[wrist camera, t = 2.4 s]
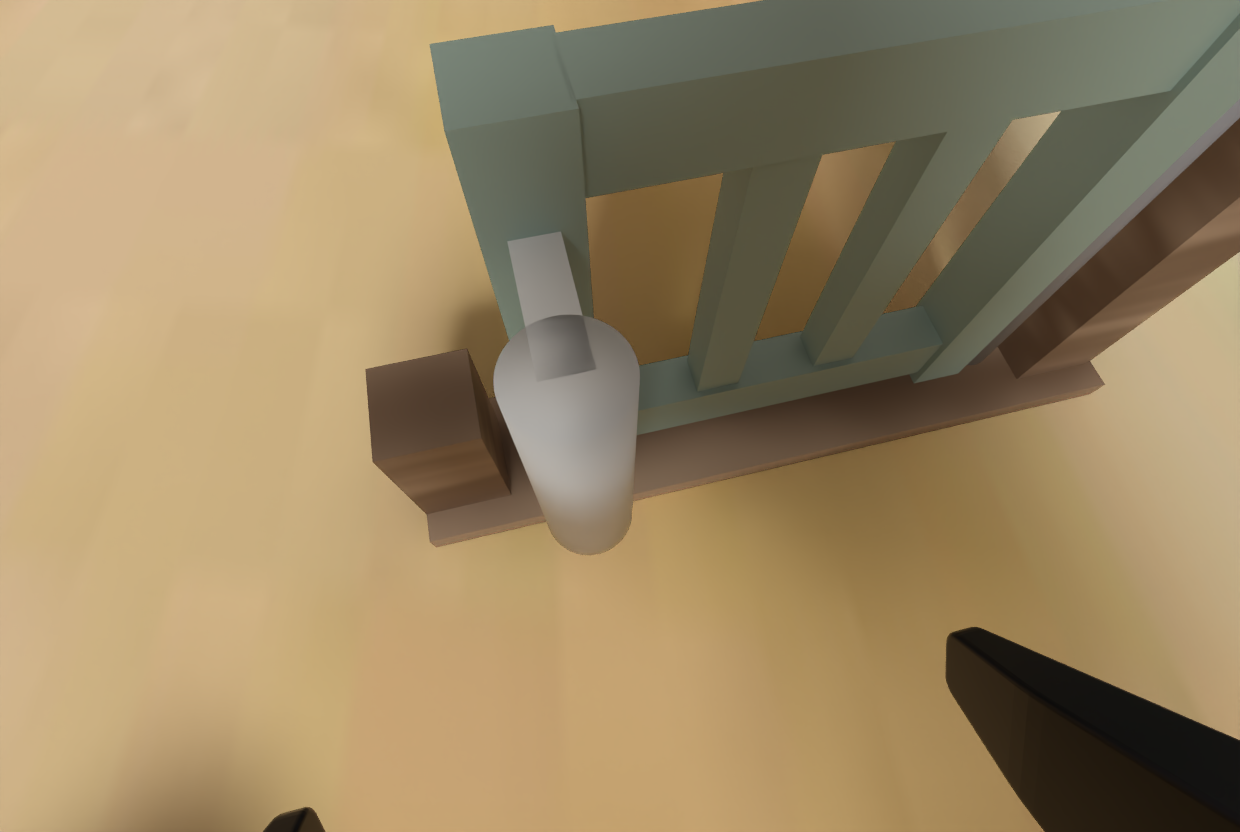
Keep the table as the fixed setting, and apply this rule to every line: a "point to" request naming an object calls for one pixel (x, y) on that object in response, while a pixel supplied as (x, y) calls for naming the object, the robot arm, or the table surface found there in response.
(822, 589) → the table surface
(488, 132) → the gate leaf
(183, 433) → the table surface
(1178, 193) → the gate frame
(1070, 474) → the table surface
